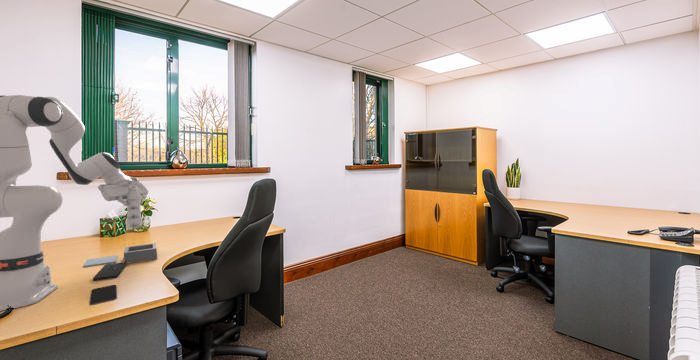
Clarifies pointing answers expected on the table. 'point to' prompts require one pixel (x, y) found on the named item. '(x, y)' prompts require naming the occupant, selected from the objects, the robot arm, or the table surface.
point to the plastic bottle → (133, 208)
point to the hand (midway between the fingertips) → (134, 203)
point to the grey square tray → (140, 253)
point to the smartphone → (103, 294)
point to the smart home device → (110, 271)
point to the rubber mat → (100, 261)
